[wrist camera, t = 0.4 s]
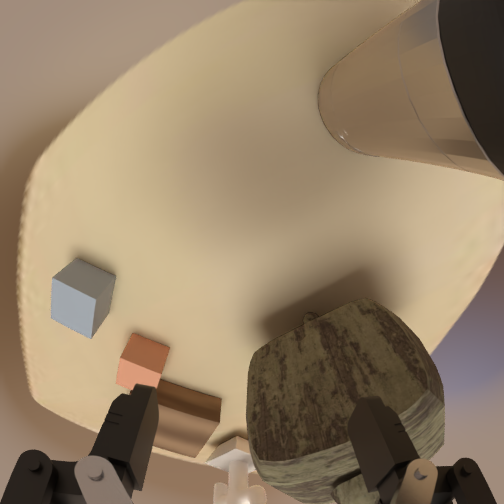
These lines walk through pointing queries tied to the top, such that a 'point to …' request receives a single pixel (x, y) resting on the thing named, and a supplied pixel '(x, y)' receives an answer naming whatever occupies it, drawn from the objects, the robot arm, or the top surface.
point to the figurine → (235, 474)
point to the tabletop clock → (337, 399)
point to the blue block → (81, 297)
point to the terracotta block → (141, 362)
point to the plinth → (185, 419)
